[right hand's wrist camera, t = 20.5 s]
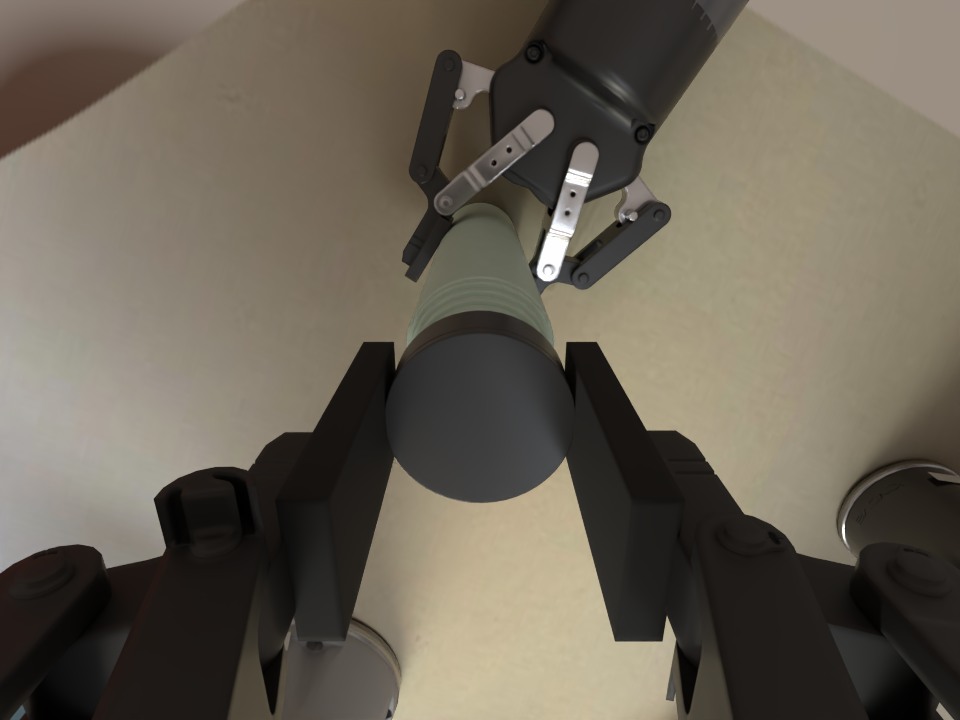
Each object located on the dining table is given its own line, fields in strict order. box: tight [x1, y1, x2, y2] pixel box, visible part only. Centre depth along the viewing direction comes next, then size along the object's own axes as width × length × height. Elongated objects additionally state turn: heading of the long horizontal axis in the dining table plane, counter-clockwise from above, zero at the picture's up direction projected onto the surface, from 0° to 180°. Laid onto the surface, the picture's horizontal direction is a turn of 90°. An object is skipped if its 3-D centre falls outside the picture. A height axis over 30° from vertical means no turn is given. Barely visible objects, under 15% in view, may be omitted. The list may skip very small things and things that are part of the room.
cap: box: [385, 310, 575, 503], centre depth 14 cm, size 4×4×2 cm
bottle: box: [406, 203, 554, 348], centre depth 24 cm, size 5×5×24 cm
